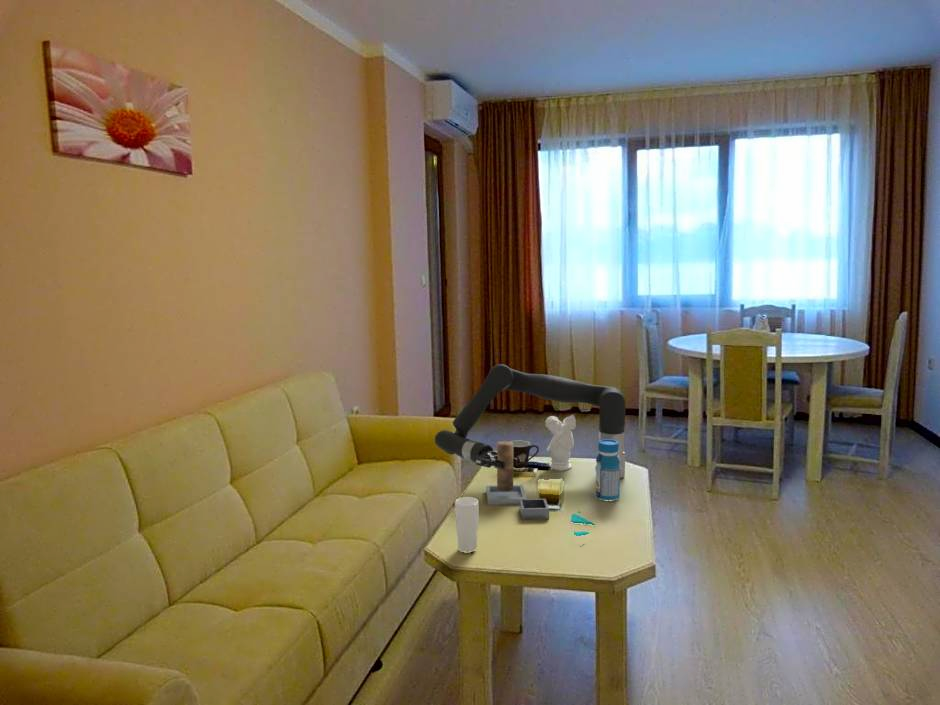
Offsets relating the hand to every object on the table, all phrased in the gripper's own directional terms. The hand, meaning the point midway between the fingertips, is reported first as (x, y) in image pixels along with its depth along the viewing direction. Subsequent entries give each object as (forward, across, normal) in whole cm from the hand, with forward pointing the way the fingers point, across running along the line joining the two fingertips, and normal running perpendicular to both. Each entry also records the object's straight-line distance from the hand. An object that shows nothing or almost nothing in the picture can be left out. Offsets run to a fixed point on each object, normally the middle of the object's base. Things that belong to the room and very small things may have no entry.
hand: (510, 463), depth 237 cm
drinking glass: (+19, -36, +13) cm, 42 cm away
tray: (-2, 0, +13) cm, 13 cm away
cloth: (+32, 0, +14) cm, 35 cm away
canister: (-3, 0, +10) cm, 10 cm away
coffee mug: (-20, +27, +14) cm, 36 cm away
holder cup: (+14, -3, +13) cm, 20 cm away
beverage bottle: (+21, +26, +13) cm, 36 cm away
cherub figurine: (-12, +40, +13) cm, 44 cm away
